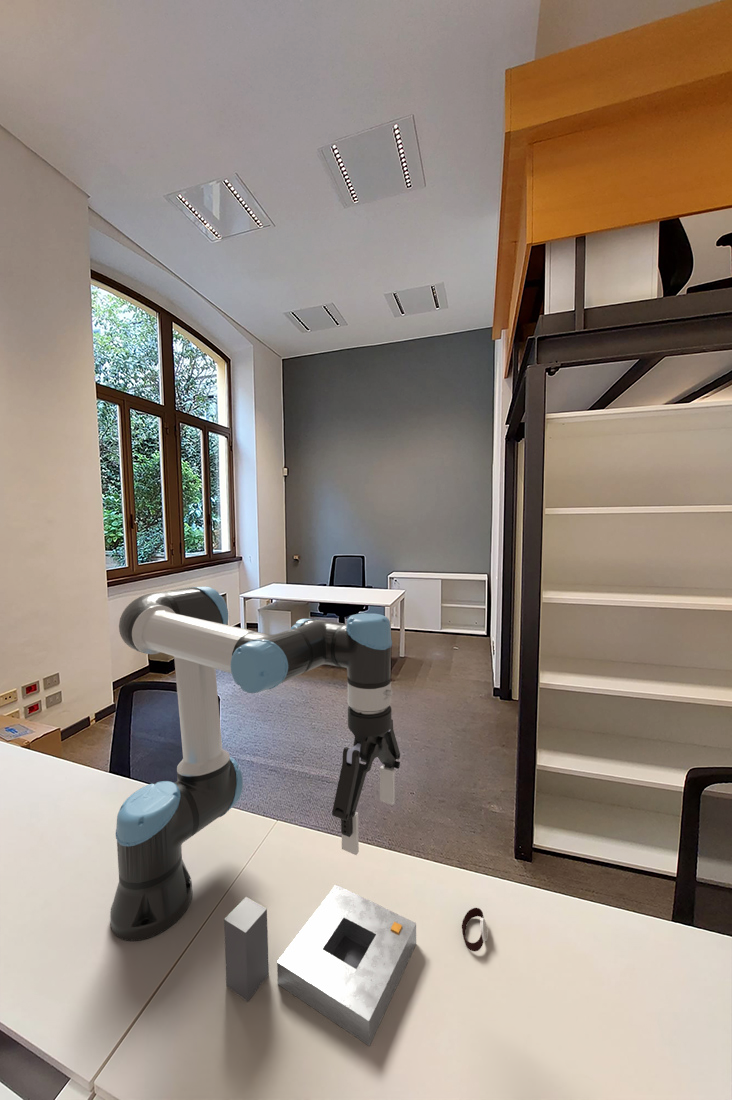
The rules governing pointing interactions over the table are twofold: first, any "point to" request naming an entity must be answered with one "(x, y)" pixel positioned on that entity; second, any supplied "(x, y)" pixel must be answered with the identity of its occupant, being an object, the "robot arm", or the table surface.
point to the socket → (348, 961)
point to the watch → (483, 929)
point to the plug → (246, 948)
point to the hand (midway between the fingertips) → (370, 824)
